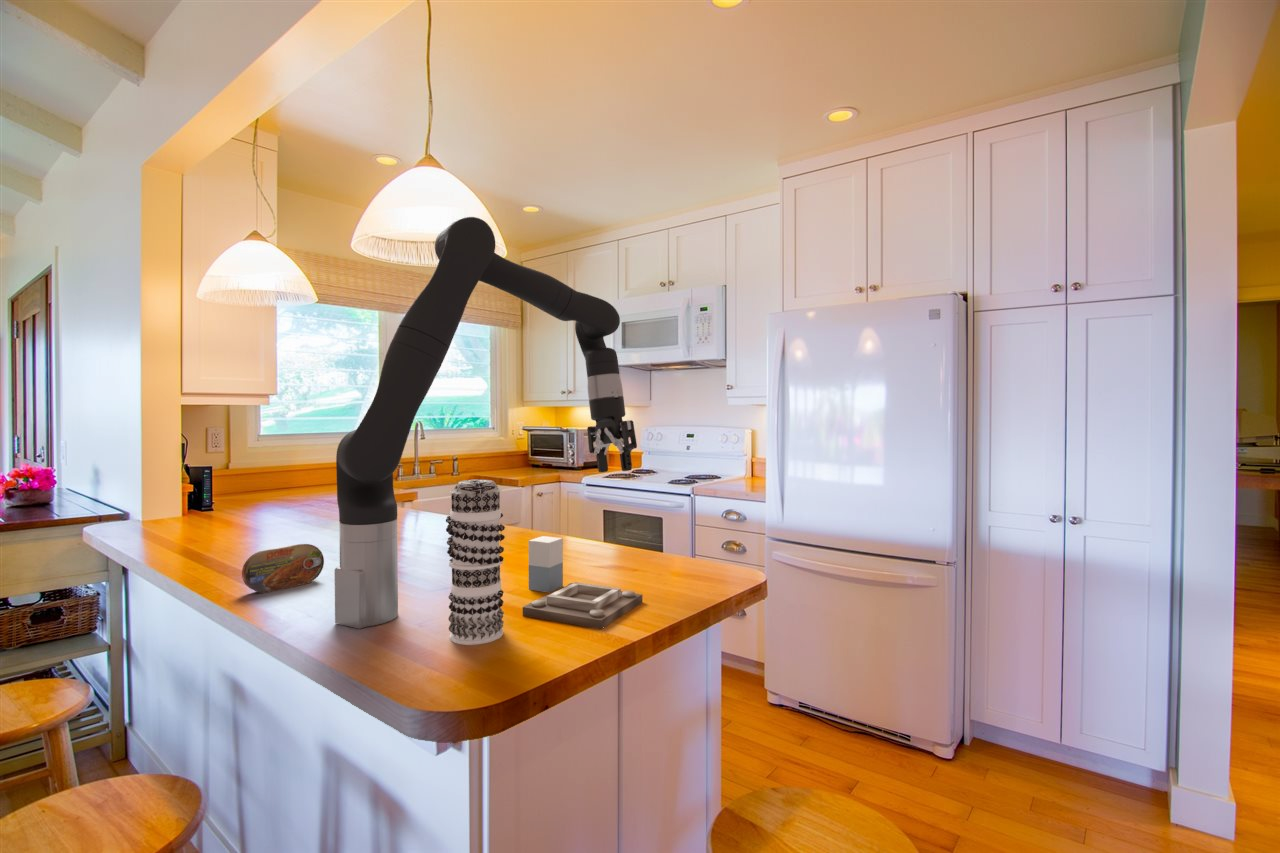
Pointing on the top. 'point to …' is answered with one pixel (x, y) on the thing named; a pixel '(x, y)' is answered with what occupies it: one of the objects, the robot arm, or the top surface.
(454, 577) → the decorative candle
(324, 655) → the top surface
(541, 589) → the post
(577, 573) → the top surface
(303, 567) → the tin
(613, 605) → the socket plate
